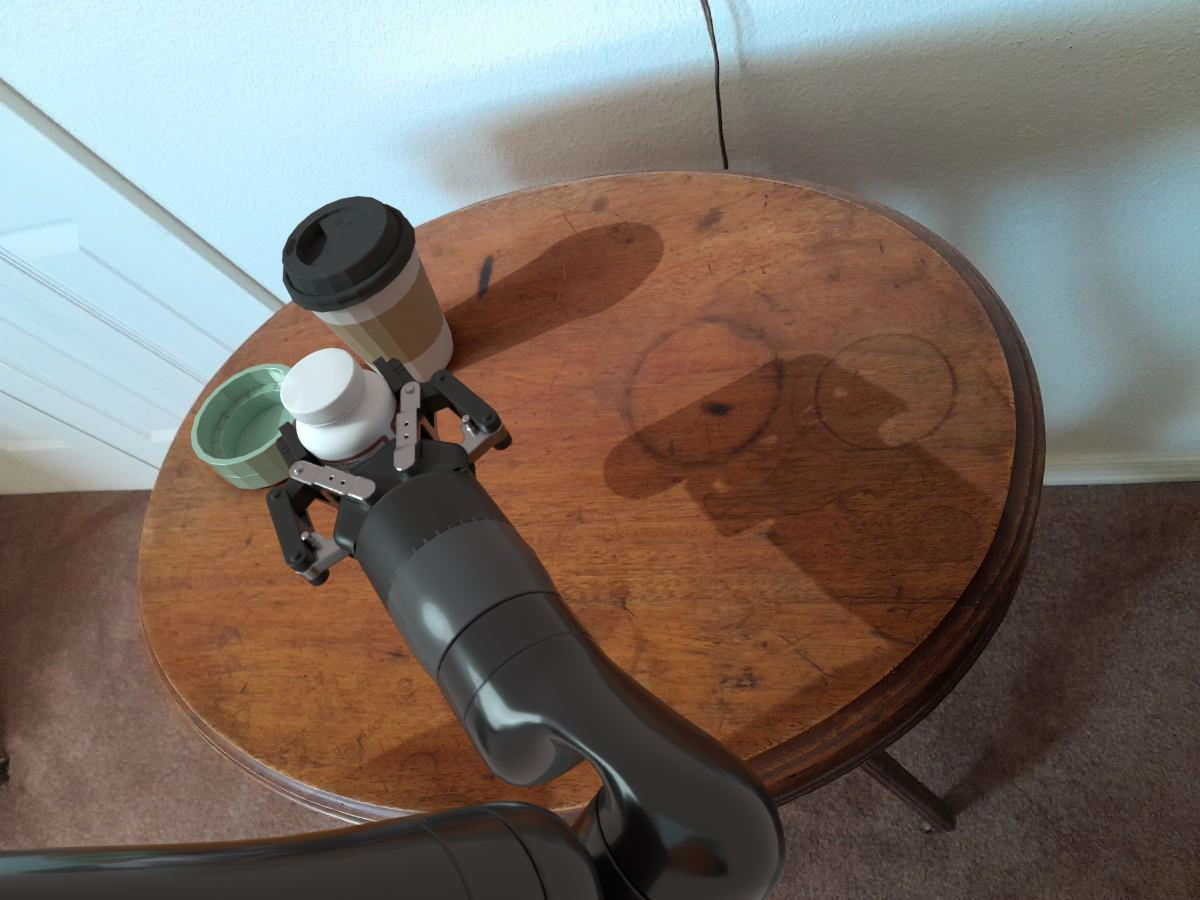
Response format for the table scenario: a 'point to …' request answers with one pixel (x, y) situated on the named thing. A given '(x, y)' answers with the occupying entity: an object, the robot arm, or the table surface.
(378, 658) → the table surface
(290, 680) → the table surface
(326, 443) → the pill bottle
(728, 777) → the robot arm
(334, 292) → the coffee cup
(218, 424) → the bowl
